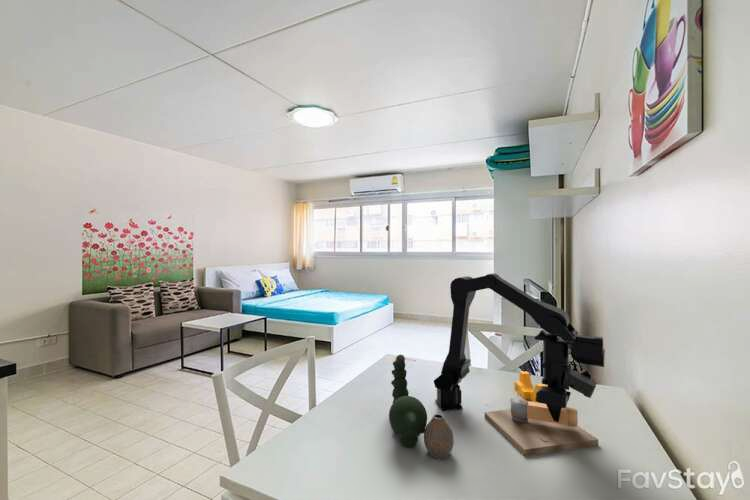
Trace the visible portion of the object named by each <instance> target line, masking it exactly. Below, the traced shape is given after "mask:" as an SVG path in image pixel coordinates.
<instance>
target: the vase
mask: <svg viewBox="0 0 750 500" xmlns="http://www.w3.org/2000/svg"><path fill="white" fill-rule="evenodd" d="M454 441H455V440H454V433H453V430H452V428H451V426H450V424H449V423H448V422H447V420H446V419H445V417H444V415H443V414H442V413H436V414H433V416H432V418H431V419H430V420H429V422H427V424H426V427H425V431H424V433H423V444H424V447H425V449H426V451H427V453H428V454H429V455H430V456H431V457H433V458H435V459H445V458H447V457H448V456H449V455H450V454H451V453H452V451H453V447H454Z"/></svg>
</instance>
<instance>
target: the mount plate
mask: <svg viewBox="0 0 750 500" xmlns="http://www.w3.org/2000/svg"><path fill="white" fill-rule="evenodd" d="M484 418H485V420H487V422H488V423H489V424H491V425H492V426H493V427H494V428H495V429H496V430H497V431H498V432H499V433H500V434H501V435H502V436H503V437H504V438H505V439H506V441H507V440H508V442H509V443H511V445H513V447H515V448H516V449H517V450H518V451H519V452H520V454H522V455H523V456H524V457H526V456H534V455H541V454H547V453H548V454H549V453H554V452H555V453H556V452H561V451H562V452H563V451H570V450H576V449H577V450H578V449H583V448H592V447H596V446H599V438H597V437H596V436H594V435H592V434H591V433H589V432H588V431H586V430H585V429H583V428H582V427H581V426H579V425H577V426H576V427H571V426H568V425H563V424H557V423H552V422H546V421H540V420H535V419H529V418H526V419H520V418H516V417H514V416H512V415H511V408H510V409H502V410H501V409H500V410H492V411H485V412H484Z"/></svg>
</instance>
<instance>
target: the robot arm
mask: <svg viewBox="0 0 750 500" xmlns="http://www.w3.org/2000/svg"><path fill="white" fill-rule="evenodd" d="M449 289H450V298H451V302H452V305H453V306H452V307H453V310H452V311H453V312H452V320H451V330H450V337H449V338H450V339H449V347H448V353H447V354H446V355H447V356H446V358H445V360H444V362H443V363H442V368H441V370H440V371H441V372H440V374H439V376H437V377H436V378H435V379H434V380H433V384H434V387H435V389H436V399H434V402H435V403H436V405H438V407H439V409H440V410H442V411H443V412H444V411H445V412H446V411H452V410H453V411H454V410H461V409H462V410H463V406H462V400H463V399H462V390H461V386H460V383H461V382H462V380H463V379H464V378H466V377H467V375H468V374H469V373H471V372H470V371H471V370H470V363H471V359H468V358H467V357H466V354H465V353H466V352H465V349H466V341H467V340H466V339H467V332H468V322H469V315H470V308H471V305H472V303H473V301H474V299H475V296H476V293H477V291H481V290H485V289H490V290H491V291H493V292H495V293H496V294H497V295H499V296H501V297H503V299H505V300H506V301H507V302H508V301H509V303H511V304H513V305H514V306H516V307H517V308H519V309H520V310H522V311H523V312H526V313H527V314H528V315H529V317H530V318H532V320H533V321H534V322H535V324H537V325H538V326H540V327H541V330H540V332H539V333H537V334H536V335H535V336H534V340H537V341H542V348H543V349H542V350H543V351H542V352H543V354H542V362H541V368H542V369H543V370H542V372H543V373H542V375H543V376H542V379H541V383H542V384H545V385H546V386H547V387H546V386H542V387H540V388H539V389H538V391H537V393H536V401H537V402H539V403H543V404H546V405H547V407H548V409H549V412H550V414H551V416H552V418H553V420H554V421H556V422H559V418H560V414H561V409H562V408H566V407H568V406H567V405H568V402H569V400H570V396H571V394H572V392H570V391H569V390H570V388H571V389H572V390H574V391H576V392H578V393H580V394H582V395H583V396H584V397H586V398H588V399H591V398H592V396H593V395H594V391H595V389H596V387H597V381H596V380H595V379H594V378H592V372H591V371H589V370H588V369H583V370H581V371H578V370H577V371H575V370H573V369H572V364H571V363H570V362H569V361H570V360H569V359H570V357H569V356H571V359H573V361H575V362H576V363H577V364H582V365H586V366H587V365H588V366H594V367H599V368H600V367H601V368H605V363H606V361H605V360H606V359H605V357H606V356H605V348H604V338H603V337H601V336H588V335H587V336H586V335H579V332H578V331H577V330H576V328H575V327H574V326H573V325H572V323H571V322H570V320H571V319H570V316H569V314H568V312H567V311H565V310H564V309H562V308H561V307H560V308H559V307H558V306H555V305H552V304H549V303H546V302H544V301H541V300H538V299H537V298H535V297H533V296H531V295H530V294H528V293H526V292H525V291H523V289H522V290H521V289H520V288H519V287H517V286H515V285H513V284H512V283H510V282H509V281H508V280H505V279H504V278H503V277H501V276H499V274H498V273H494V272H492V273H488V274H486V275H484V276H483V275H482V276H478V277H474V278H473V277H472V276H469V275H468V276H467V275H465V276H460V277H457V278H454V279H453V280H451V283H450V287H449ZM569 346H570V347H569ZM569 350H570V352H569ZM567 390H568V391H567Z"/></svg>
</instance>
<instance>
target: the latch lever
mask: <svg viewBox="0 0 750 500" xmlns="http://www.w3.org/2000/svg"><path fill="white" fill-rule="evenodd" d="M510 409H511V415H512V416H514V417H516V418H520V419H526V418H529V419H535V420H540V421H546V422H552V423H557V424H563V425H568V426H571V427H576V426H579V425H578V422H579V421H578V419H579V417H578V410H577V409H576V408H573V407H569V406H566V408H562V409H561V414H560V418H559V422H556V421H554V420H553V418H552V416H551V414H550V412H549V409H548V407H547V405H546V404H543V403H536V402H533V401H531V400H530V401H528V400H527V399H524V398H519V397H514V398H511V399H510Z"/></svg>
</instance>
